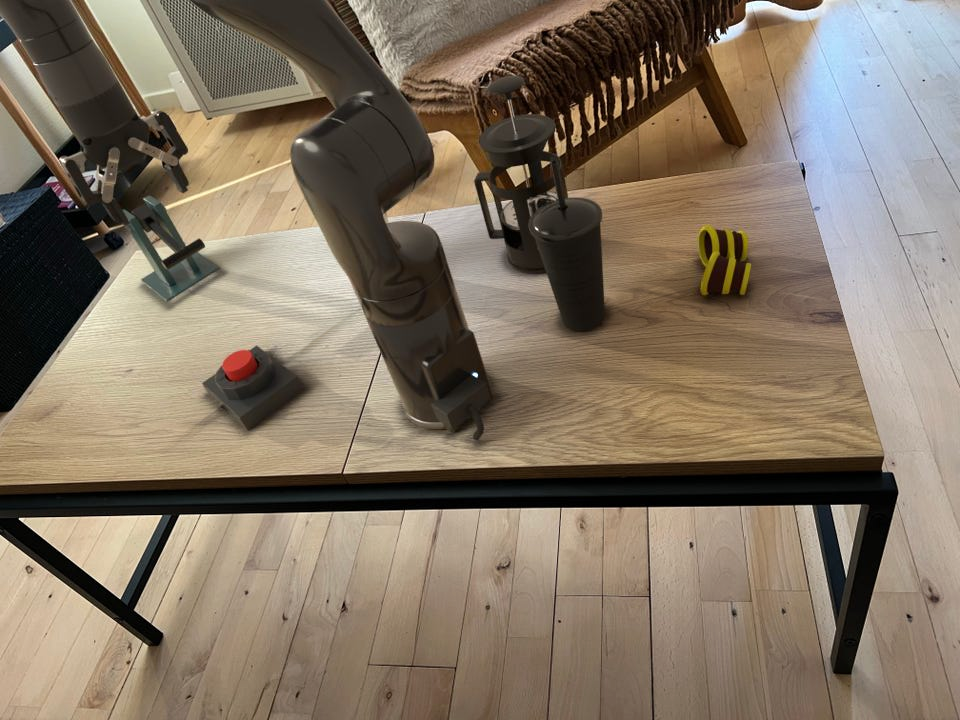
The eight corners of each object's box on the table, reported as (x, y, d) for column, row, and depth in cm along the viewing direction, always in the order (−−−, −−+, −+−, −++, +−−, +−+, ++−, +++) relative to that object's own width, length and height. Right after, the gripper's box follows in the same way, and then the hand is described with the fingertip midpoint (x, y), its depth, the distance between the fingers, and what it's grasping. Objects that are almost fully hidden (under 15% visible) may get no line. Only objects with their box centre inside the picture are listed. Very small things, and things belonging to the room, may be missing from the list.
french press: (589, 228, 102) (559, 56, 87) (578, 272, 96) (544, 94, 81) (503, 233, 106) (461, 70, 91) (487, 276, 100) (439, 107, 85)
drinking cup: (584, 349, 85) (552, 191, 72) (537, 323, 90) (500, 171, 77) (632, 312, 88) (609, 153, 75) (584, 289, 93) (555, 136, 80)
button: (263, 367, 90) (257, 356, 89) (237, 386, 89) (230, 375, 88) (249, 356, 93) (242, 345, 92) (223, 374, 91) (216, 363, 90)
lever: (207, 251, 108) (202, 239, 106) (170, 274, 106) (163, 262, 104) (162, 209, 113) (156, 196, 111) (125, 230, 111) (118, 218, 109)
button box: (304, 389, 91) (291, 364, 89) (247, 431, 88) (232, 406, 86) (263, 358, 98) (250, 334, 95) (209, 395, 95) (194, 372, 92)
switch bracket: (222, 273, 116) (181, 199, 108) (170, 306, 113) (123, 233, 104) (194, 254, 123) (153, 183, 115) (144, 285, 119) (98, 214, 111)
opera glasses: (747, 307, 85) (756, 270, 82) (697, 303, 86) (704, 267, 82) (740, 255, 92) (749, 219, 89) (695, 252, 93) (701, 216, 89)
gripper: (37, 121, 86) (116, 243, 96) (150, 66, 92) (214, 186, 102) (19, 111, 91) (96, 227, 101) (127, 59, 97) (190, 174, 107)
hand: (155, 207), depth 102 cm, fingers open, 8 cm apart
